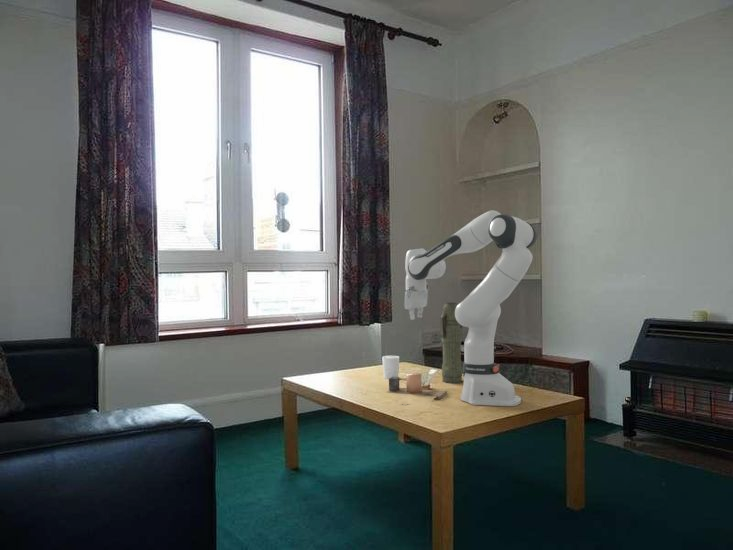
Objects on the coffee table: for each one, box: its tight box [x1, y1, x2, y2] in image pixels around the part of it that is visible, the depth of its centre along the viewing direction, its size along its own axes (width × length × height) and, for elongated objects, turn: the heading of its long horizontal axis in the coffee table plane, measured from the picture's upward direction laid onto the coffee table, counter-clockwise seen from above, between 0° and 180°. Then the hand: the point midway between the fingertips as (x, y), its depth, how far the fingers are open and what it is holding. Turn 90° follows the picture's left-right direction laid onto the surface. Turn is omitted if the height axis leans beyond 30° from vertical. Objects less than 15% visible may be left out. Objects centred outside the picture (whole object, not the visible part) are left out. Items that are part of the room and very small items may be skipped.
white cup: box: [381, 355, 400, 380], centre depth 260 cm, size 8×8×10 cm
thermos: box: [439, 302, 463, 384], centre depth 251 cm, size 9×12×35 cm
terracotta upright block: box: [406, 372, 423, 393], centre depth 225 cm, size 6×6×7 cm
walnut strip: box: [387, 376, 448, 401], centre depth 224 cm, size 22×10×6 cm, turn 66°
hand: (416, 318), depth 241 cm, fingers open, 8 cm apart
